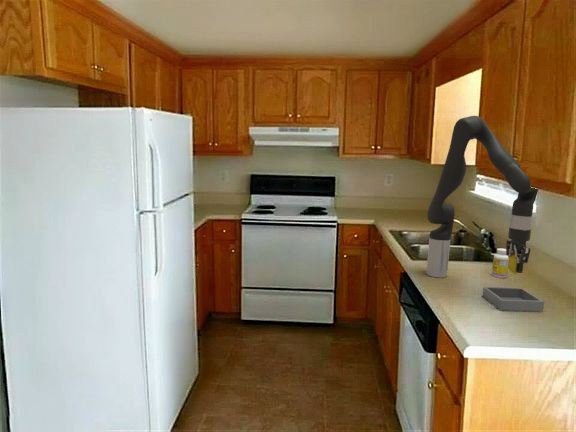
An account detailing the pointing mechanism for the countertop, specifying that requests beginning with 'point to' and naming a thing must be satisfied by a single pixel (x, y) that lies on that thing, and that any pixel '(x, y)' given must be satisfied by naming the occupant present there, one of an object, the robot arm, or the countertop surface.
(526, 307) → the box
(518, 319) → the countertop surface
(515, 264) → the lemon
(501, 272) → the supplement bottle
